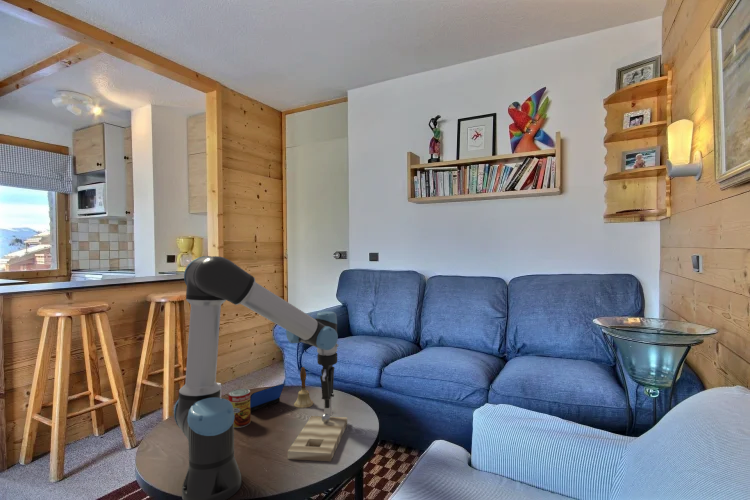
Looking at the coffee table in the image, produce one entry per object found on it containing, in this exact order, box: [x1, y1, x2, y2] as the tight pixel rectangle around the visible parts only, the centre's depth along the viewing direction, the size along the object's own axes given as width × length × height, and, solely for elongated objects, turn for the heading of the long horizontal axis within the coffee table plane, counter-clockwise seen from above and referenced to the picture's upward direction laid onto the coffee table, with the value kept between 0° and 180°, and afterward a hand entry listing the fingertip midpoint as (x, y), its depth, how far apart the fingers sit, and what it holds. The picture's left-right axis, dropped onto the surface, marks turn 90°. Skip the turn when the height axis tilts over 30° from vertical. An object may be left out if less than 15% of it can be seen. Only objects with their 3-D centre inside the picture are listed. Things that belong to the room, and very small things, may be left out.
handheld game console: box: [250, 383, 285, 412], centre depth 165 cm, size 16×13×9 cm
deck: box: [287, 415, 348, 462], centre depth 133 cm, size 26×14×2 cm, turn 173°
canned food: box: [228, 388, 252, 429], centre depth 148 cm, size 8×8×12 cm
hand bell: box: [293, 366, 314, 409], centre depth 165 cm, size 8×8×16 cm
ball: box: [321, 413, 331, 423], centre depth 141 cm, size 3×3×3 cm
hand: (328, 415), depth 145 cm, fingers closed
